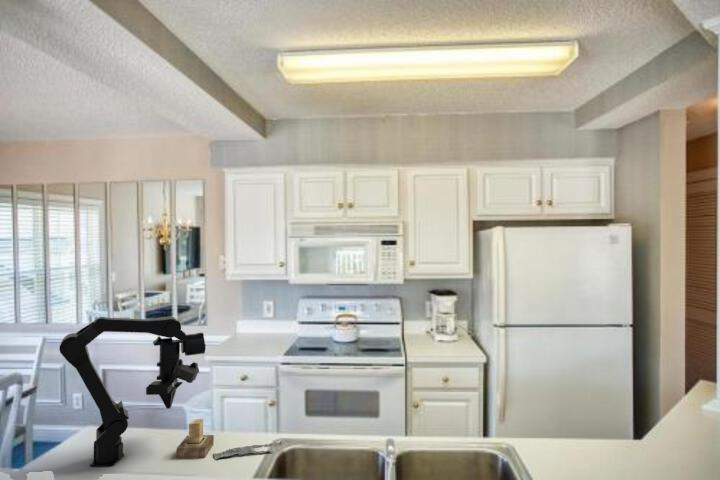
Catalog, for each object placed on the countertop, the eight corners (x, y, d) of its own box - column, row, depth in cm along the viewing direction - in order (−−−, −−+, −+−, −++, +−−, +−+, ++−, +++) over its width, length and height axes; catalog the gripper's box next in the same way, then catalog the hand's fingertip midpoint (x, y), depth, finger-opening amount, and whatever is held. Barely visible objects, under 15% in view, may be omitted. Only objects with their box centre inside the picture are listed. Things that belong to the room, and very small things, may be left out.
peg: (188, 453, 124) (188, 423, 124) (192, 448, 127) (192, 419, 128) (199, 453, 124) (199, 423, 125) (203, 448, 128) (203, 419, 128)
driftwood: (211, 463, 120) (211, 455, 120) (213, 452, 127) (213, 445, 127) (283, 455, 125) (283, 448, 125) (282, 445, 132) (282, 438, 132)
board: (176, 458, 122) (176, 447, 122) (187, 445, 130) (187, 435, 130) (205, 457, 122) (205, 446, 122) (213, 444, 130) (213, 434, 130)
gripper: (184, 365, 120) (183, 419, 120) (205, 350, 139) (204, 397, 138) (145, 366, 120) (144, 420, 119) (171, 350, 138) (171, 397, 138)
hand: (168, 408), depth 129 cm, fingers closed
